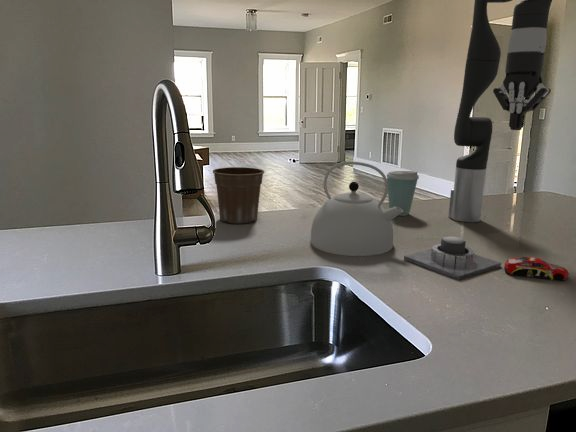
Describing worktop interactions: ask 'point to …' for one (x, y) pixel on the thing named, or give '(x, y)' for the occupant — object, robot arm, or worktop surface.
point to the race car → (535, 268)
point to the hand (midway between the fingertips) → (515, 129)
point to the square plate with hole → (452, 262)
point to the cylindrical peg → (453, 245)
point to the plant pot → (238, 193)
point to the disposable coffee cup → (401, 189)
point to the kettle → (353, 221)
